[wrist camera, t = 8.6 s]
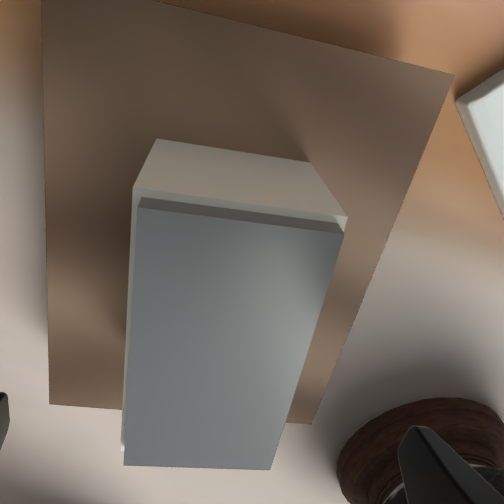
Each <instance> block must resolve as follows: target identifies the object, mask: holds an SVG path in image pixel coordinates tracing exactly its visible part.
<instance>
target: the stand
mask: <svg viewBox="0 0 504 504" xmlns="http://www.w3.org/2000/svg"><path fill="white" fill-rule="evenodd" d="M41 10H42V60H43V109H44V159H45V208H46V258H47V308H48V357H49V404H53V405H66V406H79V407H92V408H105V409H118V410H122V408H123V387H124V365H125V344H126V322H127V301H128V279H129V258H130V236H131V215H132V194H133V186H134V184H135V182H136V179H137V177H138V175H139V173H140V171H141V169H142V167H143V165H144V163H145V161H146V159H147V157H148V155H149V153H150V151H151V149H152V147H153V145H154V143H155V141H156V138H157V139H164V140H170V141H176V142H183V143H189V144H195V145H202V146H208V147H215V148H221V149H227V150H234V151H240V152H246V153H253V154H259V155H265V156H272V157H278V158H284V159H291V160H297V161H304V162H310V163H311V165H312V166H313V167H314V169H315V170H316V172H317V173H318V174H319V176H320V177H321V179H322V180H323V182H324V183H325V184H326V186H327V187H328V189H329V190H330V192H331V193H332V194H333V196H334V197H335V199H336V200H337V202H338V203H339V204H340V206H341V207H342V209H343V210H344V211H345V213H346V214H347V216H348V219H347V222H346V225H345V228H344V234H345V236H344V239H343V242H342V245H341V248H340V252H339V255H338V258H337V261H336V264H335V267H334V270H333V274H332V277H331V280H330V283H329V286H328V289H327V292H326V296H325V299H324V302H323V305H322V308H321V311H320V314H319V318H318V321H317V324H316V327H315V330H314V333H313V336H312V340H311V343H310V346H309V349H308V352H307V355H306V358H305V362H304V365H303V368H302V371H301V374H300V377H299V380H298V384H297V387H296V390H295V393H294V396H293V399H292V402H291V406H290V409H289V412H288V415H287V418H286V421H285V422H287V423H300V424H312V421H313V419H314V416H315V414H316V412H317V409H318V407H319V404H320V402H321V399H322V397H323V395H324V392H325V390H326V387H327V385H328V382H329V380H330V378H331V375H332V373H333V370H334V368H335V365H336V363H337V361H338V358H339V356H340V353H341V351H342V348H343V346H344V344H345V341H346V339H347V336H348V334H349V331H350V329H351V327H352V324H353V322H354V319H355V317H356V314H357V312H358V309H359V307H360V305H361V302H362V300H363V297H364V295H365V292H366V290H367V288H368V285H369V283H370V280H371V278H372V275H373V273H374V271H375V268H376V266H377V263H378V261H379V258H380V256H381V254H382V251H383V249H384V246H385V244H386V241H387V239H388V237H389V234H390V232H391V229H392V227H393V224H394V222H395V220H396V217H397V215H398V212H399V210H400V207H401V205H402V203H403V200H404V198H405V195H406V193H407V190H408V188H409V186H410V183H411V181H412V178H413V176H414V173H415V171H416V169H417V166H418V164H419V161H420V159H421V156H422V154H423V152H424V149H425V147H426V144H427V142H428V139H429V137H430V135H431V132H432V130H433V127H434V125H435V122H436V120H437V118H438V115H439V113H440V110H441V108H442V105H443V103H444V101H445V98H446V96H447V93H448V91H449V88H450V86H451V84H452V81H453V79H454V76H455V75H453V74H449V73H445V72H441V71H436V70H432V69H428V68H424V67H420V66H416V65H412V64H408V63H404V62H400V61H396V60H392V59H388V58H384V57H380V56H376V55H372V54H368V53H364V52H360V51H356V50H352V49H348V48H344V47H340V46H336V45H332V44H328V43H324V42H320V41H315V40H311V39H307V38H303V37H299V36H295V35H291V34H287V33H283V32H279V31H275V30H271V29H267V28H263V27H259V26H255V25H251V24H247V23H243V22H239V21H235V20H231V19H227V18H223V17H219V16H215V15H211V14H207V13H203V12H199V11H194V10H190V9H186V8H182V7H178V6H174V5H170V4H166V3H162V2H158V1H154V0H41Z"/></svg>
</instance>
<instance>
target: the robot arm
mask: <svg viewBox="0 0 504 504" xmlns="http://www.w3.org/2000/svg"><path fill="white" fill-rule="evenodd" d="M9 422H10V417H9V406H8V397H7V394H6V393H4V392H0V450H1V447H2V444H3V442H4V439H5V436H6V434H7V431H8V427H9ZM398 460H399V465H400V469H401V474H402V479H403V483H404V488H405V492H406V497H407V501H408V504H504V497H503V496H502V495H501V494H500V493H499V492H498V491H496V490H495V489H494V488H493V487H492V486H491V485H490V484H489V483H488V482H487V481H486V480H485V479H484V478H483V477H482V476H481V475H480V474H478V473H477V472H476V471H475V470H474V469H473V468H472V467H471V466H470V465H469V464H468V463H467V462H466V461H465V460H464V459H463V458H462V457H460V456H459V455H458V454H457V453H456V452H455V451H454V450H453V449H452V448H451V447H450V446H449V445H448V444H447V443H446V442H445V441H443V440H442V439H441V438H440V437H439V436H438V435H437V434H436V433H435V432H434V431H433V430H432V429H430V428H429V427H426V426H415V425H414V426H411V427H410V428H409V429H408V431H407V433H406V434H405V436H404V438H403V440H402V441H401V443H400V445H399V447H398Z"/></svg>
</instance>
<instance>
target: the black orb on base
mask: <svg viewBox="0 0 504 504" xmlns="http://www.w3.org/2000/svg"><path fill="white" fill-rule="evenodd" d="M414 425H415V426H426V427H429V428H430V429H432V430H433V431H434V432H435V433H436V434H437V435H438V436H439V437H440V438H441V439H442V440H443V441H445V442H446V443H447V444H448V445H449V446H450V447H451V448H452V449H453V450H454V451H455V452H456V453H457V454H458V455H459V456H460V457H462V458H463V459H464V460H465V461H466V462H467V463H468V464H469V465H470V466H471V467H472V468H473V469H474V470H475V471H476V472H477V473H478V474H480V475H481V476H482V477H483V478H484V479H485V480H486V481H487V482H488V483H489V484H490V485H491V486H492V487H493V488H494V489H495V490H496V491H498V492H499V493H500V494H501V495H502V496H503V497H504V423H503V422H502V421H501V419H500V418H499V417H498V415H497V414H496V413H495V412H494V411H492V410H491V409H490V408H488V407H487V406H485V405H483V404H480V403H478V402H475V401H472V400H467V399H461V398H434V399H425V400H420V401H416V402H412V403H408V404H405V405H402V406H400V407H397V408H395V409H392V410H389V411H387V412H385V413H384V414H382V415H380V416H378V417H376V418H374V419H373V420H371V421H370V422H369V423H367V424H366V425H364V426H363V427H362V428H360V429H359V430H358V431H357V432H356V433H355V434H354V435H353V436H352V437H351V438H350V439H349V440H348V442H347V443H346V445H345V447H344V448H343V450H342V451H341V454H340V456H339V459H338V462H337V476H338V479H339V483H340V486H341V490H342V493H343V495H344V496H345V498H346V499H347V501H348V502H349V503H351V504H408V501H407V497H406V492H405V488H404V483H403V479H402V474H401V469H400V465H399V460H398V447H399V445H400V443H401V441H402V440H403V438H404V436H405V434H406V433H407V431H408V429H409V428H410V427H411V426H414Z"/></svg>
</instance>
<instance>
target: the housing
mask: <svg viewBox="0 0 504 504" xmlns="http://www.w3.org/2000/svg"><path fill="white" fill-rule="evenodd" d="M347 219H348V216H347V214H346V213H345V211H344V210H343V209H342V207H341V206H340V204H339V203H338V202H337V200H336V199H335V197H334V196H333V194H332V193H331V192H330V190H329V189H328V187H327V186H326V184H325V183H324V182H323V180H322V179H321V177H320V176H319V174H318V173H317V172H316V170H315V169H314V167H313V166H312V165H311V163H310V162H304V161H297V160H291V159H284V158H278V157H272V156H265V155H259V154H253V153H246V152H240V151H234V150H227V149H221V148H215V147H208V146H202V145H195V144H189V143H183V142H176V141H170V140H164V139H157V138H156V141H155V143H154V145H153V147H152V149H151V151H150V153H149V155H148V157H147V159H146V161H145V163H144V165H143V167H142V169H141V171H140V173H139V175H138V177H137V179H136V182H135V184H134V186H133V194H132V215H131V236H130V258H129V279H128V301H127V322H126V344H125V365H124V387H123V408H122V430H121V451H120V452H124V465H127V466H157V467H187V468H217V469H247V470H270V469H271V465H272V462H273V459H274V456H275V453H276V450H277V446H278V443H279V440H280V437H281V434H282V431H283V428H284V424H285V421H286V418H287V415H288V412H289V409H290V406H291V402H292V399H293V396H294V393H295V390H296V387H297V384H298V380H299V377H300V374H301V371H302V368H303V365H304V362H305V358H306V355H307V352H308V349H309V346H310V343H311V340H312V336H313V333H314V330H315V327H316V324H317V321H318V318H319V314H320V311H321V308H322V305H323V302H324V299H325V296H326V292H327V289H328V286H329V283H330V280H331V277H332V274H333V270H334V267H335V264H336V261H337V258H338V255H339V252H340V248H341V245H342V242H343V239H344V236H345V234H344V228H345V225H346V222H347Z"/></svg>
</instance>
